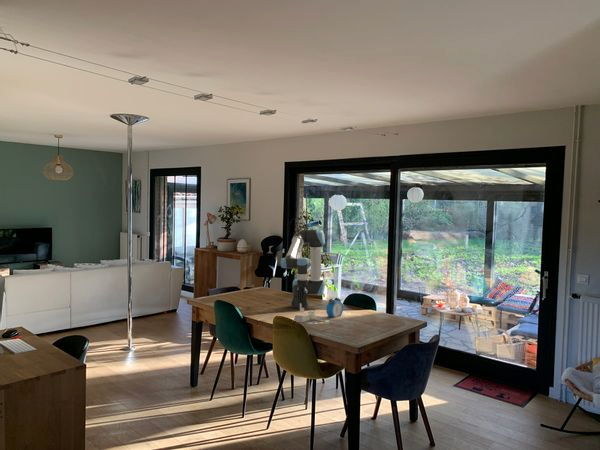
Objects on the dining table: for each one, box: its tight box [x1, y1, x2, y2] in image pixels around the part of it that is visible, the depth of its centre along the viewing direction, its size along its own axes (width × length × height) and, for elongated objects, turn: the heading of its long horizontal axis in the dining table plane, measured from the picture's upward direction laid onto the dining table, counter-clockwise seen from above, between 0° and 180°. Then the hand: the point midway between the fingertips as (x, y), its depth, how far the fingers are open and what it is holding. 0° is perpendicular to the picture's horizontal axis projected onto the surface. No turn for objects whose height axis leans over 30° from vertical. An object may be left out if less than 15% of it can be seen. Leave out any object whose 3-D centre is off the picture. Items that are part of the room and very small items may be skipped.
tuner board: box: [293, 315, 331, 325], centre depth 333 cm, size 24×26×2 cm
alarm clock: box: [325, 297, 344, 318], centre depth 346 cm, size 13×6×15 cm, turn 136°
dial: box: [301, 310, 326, 322], centre depth 329 cm, size 16×13×6 cm
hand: (301, 311), depth 332 cm, fingers closed
